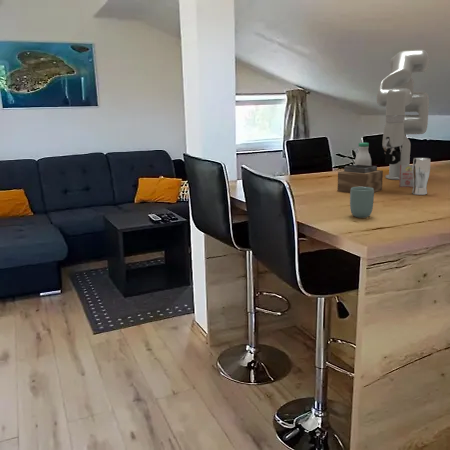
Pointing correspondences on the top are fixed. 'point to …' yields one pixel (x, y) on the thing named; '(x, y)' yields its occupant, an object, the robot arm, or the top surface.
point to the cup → (361, 201)
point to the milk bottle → (363, 155)
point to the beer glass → (420, 175)
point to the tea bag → (406, 176)
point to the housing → (360, 177)
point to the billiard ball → (395, 157)
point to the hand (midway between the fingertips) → (392, 162)
